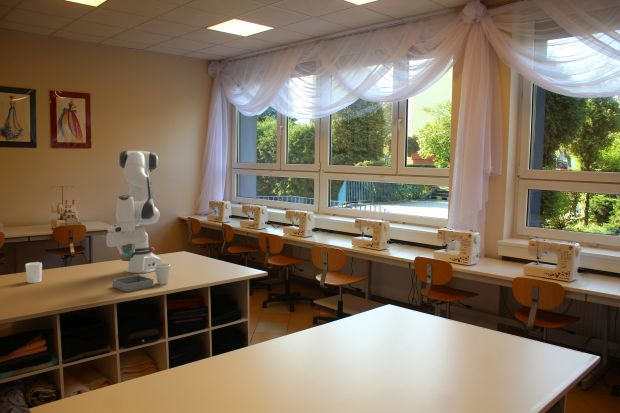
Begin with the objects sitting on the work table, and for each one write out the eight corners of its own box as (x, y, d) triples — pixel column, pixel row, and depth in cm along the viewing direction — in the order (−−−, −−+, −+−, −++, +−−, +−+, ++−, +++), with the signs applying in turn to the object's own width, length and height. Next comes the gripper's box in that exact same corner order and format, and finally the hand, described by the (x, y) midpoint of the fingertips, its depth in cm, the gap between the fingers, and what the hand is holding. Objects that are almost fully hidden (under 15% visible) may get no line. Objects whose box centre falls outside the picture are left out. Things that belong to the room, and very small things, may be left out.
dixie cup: (173, 283, 269) (173, 265, 268) (158, 285, 264) (158, 267, 263) (166, 280, 275) (166, 262, 274) (152, 283, 270) (151, 264, 269)
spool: (127, 260, 262) (130, 242, 262) (132, 261, 259) (134, 244, 259) (119, 259, 259) (121, 242, 259) (123, 261, 256) (126, 243, 256)
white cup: (46, 280, 275) (45, 262, 274) (33, 283, 267) (33, 265, 266) (35, 279, 277) (34, 261, 276) (22, 282, 270) (21, 264, 269)
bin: (139, 282, 272) (138, 274, 271) (153, 286, 262) (153, 279, 261) (112, 287, 261) (112, 279, 260) (126, 292, 251) (126, 284, 250)
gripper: (142, 224, 267) (142, 249, 269) (104, 228, 253) (105, 255, 254) (147, 225, 263) (148, 251, 264) (109, 229, 248) (110, 256, 250)
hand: (127, 253), depth 259 cm, fingers closed on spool, 5 cm apart
